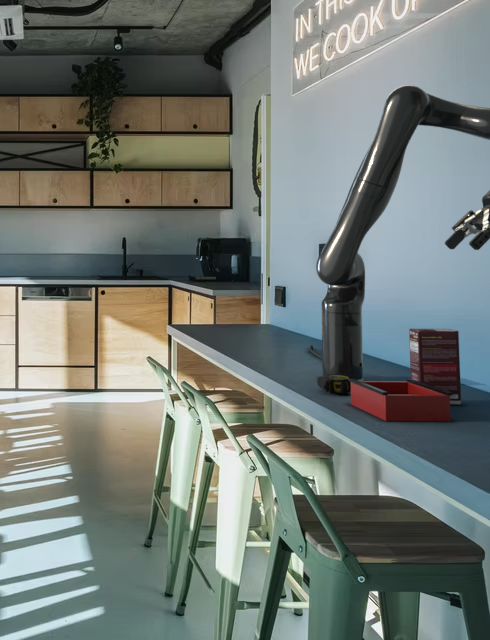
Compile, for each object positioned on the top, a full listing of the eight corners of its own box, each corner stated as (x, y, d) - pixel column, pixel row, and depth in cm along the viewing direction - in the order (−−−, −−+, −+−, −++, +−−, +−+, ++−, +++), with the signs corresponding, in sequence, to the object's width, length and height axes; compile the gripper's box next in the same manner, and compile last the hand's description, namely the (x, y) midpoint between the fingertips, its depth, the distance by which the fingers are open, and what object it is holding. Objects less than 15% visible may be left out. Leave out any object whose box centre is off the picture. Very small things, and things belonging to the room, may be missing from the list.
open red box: (348, 404, 157) (348, 378, 157) (412, 404, 157) (411, 378, 157) (383, 421, 142) (382, 392, 142) (453, 421, 142) (452, 392, 142)
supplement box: (450, 400, 161) (448, 328, 162) (461, 405, 156) (460, 330, 157) (409, 399, 162) (408, 327, 162) (419, 404, 157) (418, 330, 158)
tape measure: (316, 389, 172) (316, 373, 173) (347, 390, 171) (346, 374, 171) (323, 395, 166) (323, 379, 166) (356, 396, 165) (355, 380, 165)
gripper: (478, 184, 164) (428, 234, 164) (523, 178, 150) (468, 234, 150) (502, 207, 164) (452, 258, 164) (549, 204, 150) (494, 260, 150)
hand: (460, 246), depth 157 cm, fingers open, 8 cm apart
